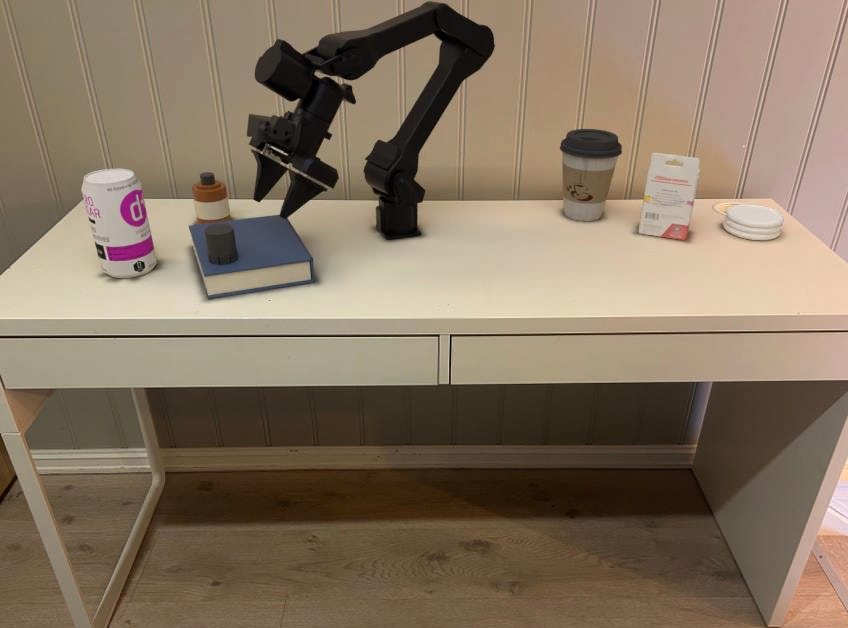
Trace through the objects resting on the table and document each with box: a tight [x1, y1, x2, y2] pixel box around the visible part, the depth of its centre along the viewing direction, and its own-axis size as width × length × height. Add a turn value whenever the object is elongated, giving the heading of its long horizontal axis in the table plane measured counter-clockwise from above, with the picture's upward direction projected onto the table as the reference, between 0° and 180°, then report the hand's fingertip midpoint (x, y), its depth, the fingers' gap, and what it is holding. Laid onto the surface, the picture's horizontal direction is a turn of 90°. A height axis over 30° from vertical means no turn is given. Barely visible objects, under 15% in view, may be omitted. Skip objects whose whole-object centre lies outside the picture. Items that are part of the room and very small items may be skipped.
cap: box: [204, 224, 239, 265], centre depth 109 cm, size 4×4×5 cm
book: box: [188, 214, 316, 300], centre depth 117 cm, size 16×20×4 cm
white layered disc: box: [722, 203, 785, 241], centre depth 134 cm, size 10×10×4 cm
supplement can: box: [80, 168, 158, 279], centre depth 112 cm, size 8×8×15 cm
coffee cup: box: [559, 128, 623, 222], centre depth 136 cm, size 11×11×15 cm
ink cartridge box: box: [637, 152, 701, 241], centre depth 129 cm, size 9×5×15 cm, turn 68°
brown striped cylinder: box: [191, 171, 232, 225], centre depth 130 cm, size 6×6×9 cm
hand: (268, 209), depth 113 cm, fingers open, 9 cm apart
